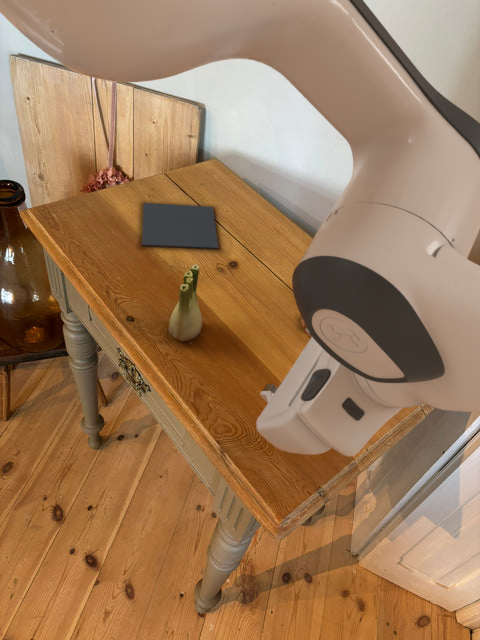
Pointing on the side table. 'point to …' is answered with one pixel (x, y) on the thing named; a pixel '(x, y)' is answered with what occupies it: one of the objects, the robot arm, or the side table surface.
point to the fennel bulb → (187, 309)
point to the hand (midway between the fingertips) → (289, 361)
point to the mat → (179, 226)
